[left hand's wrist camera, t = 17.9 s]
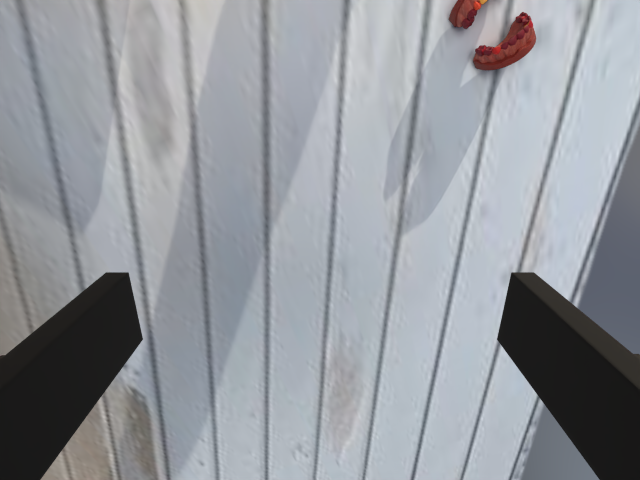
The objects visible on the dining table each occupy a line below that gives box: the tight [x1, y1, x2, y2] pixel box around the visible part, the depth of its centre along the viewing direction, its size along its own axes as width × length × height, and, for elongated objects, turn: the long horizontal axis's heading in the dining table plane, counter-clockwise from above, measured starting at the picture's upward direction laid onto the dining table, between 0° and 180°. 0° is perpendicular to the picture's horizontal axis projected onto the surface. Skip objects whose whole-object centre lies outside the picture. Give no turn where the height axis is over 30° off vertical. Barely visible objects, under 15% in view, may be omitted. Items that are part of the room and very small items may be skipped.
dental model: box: [449, 0, 536, 70], centre depth 34 cm, size 6×4×8 cm
